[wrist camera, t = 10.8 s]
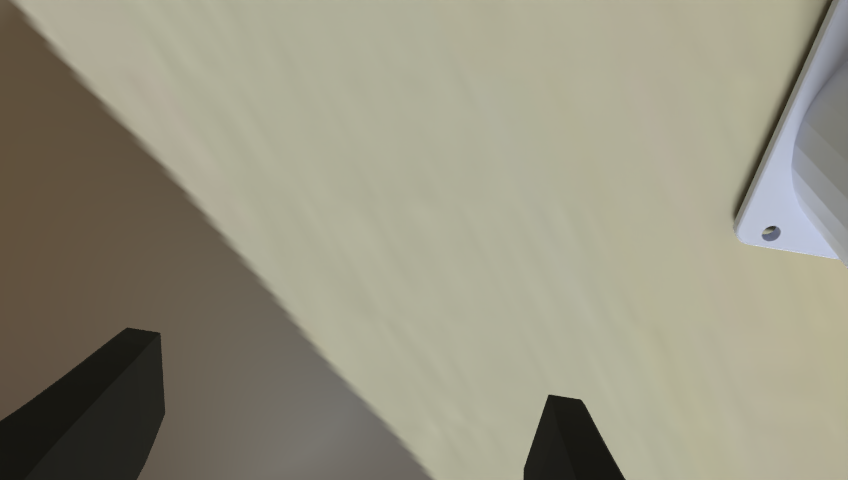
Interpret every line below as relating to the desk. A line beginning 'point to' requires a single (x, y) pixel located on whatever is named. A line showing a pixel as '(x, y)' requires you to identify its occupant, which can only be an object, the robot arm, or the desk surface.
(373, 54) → the desk surface
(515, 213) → the desk surface
